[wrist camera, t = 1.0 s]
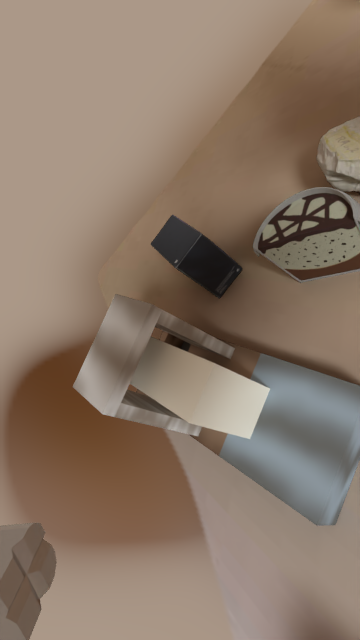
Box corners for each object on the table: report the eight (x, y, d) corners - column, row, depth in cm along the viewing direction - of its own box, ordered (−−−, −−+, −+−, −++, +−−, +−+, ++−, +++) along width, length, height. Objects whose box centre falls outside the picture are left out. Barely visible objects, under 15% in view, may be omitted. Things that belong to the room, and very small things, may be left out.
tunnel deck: (183, 330, 59) (91, 283, 47) (382, 398, 34) (292, 335, 22) (152, 401, 58) (50, 371, 46) (335, 524, 33) (214, 527, 21)
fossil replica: (359, 134, 49) (317, 198, 51) (328, 93, 44) (283, 165, 46) (446, 134, 39) (390, 214, 41) (418, 81, 34) (356, 174, 36)
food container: (391, 218, 40) (361, 163, 34) (392, 264, 38) (360, 214, 32) (293, 246, 49) (254, 206, 43) (289, 284, 47) (248, 248, 41)
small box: (245, 267, 54) (202, 232, 48) (220, 300, 55) (174, 270, 49) (212, 244, 62) (171, 211, 56) (190, 273, 63) (148, 245, 57)
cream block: (200, 359, 48) (146, 334, 42) (270, 388, 39) (214, 363, 32) (183, 399, 47) (126, 381, 41) (249, 439, 38) (189, 423, 32)
